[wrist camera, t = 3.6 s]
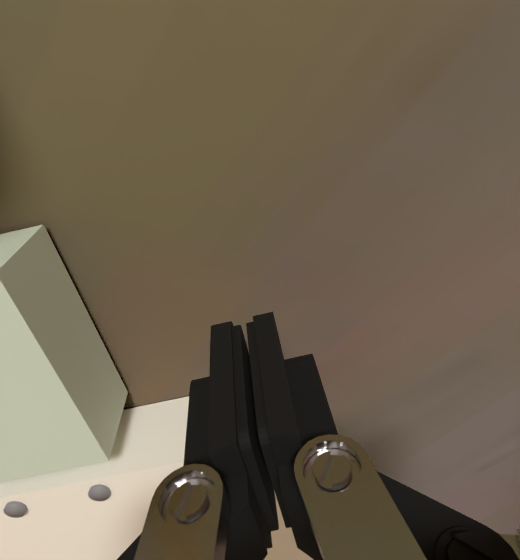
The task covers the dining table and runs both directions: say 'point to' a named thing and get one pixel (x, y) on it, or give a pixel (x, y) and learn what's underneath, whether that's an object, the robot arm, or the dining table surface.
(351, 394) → the dining table surface
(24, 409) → the pale green flat slab
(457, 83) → the dining table surface
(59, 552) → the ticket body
